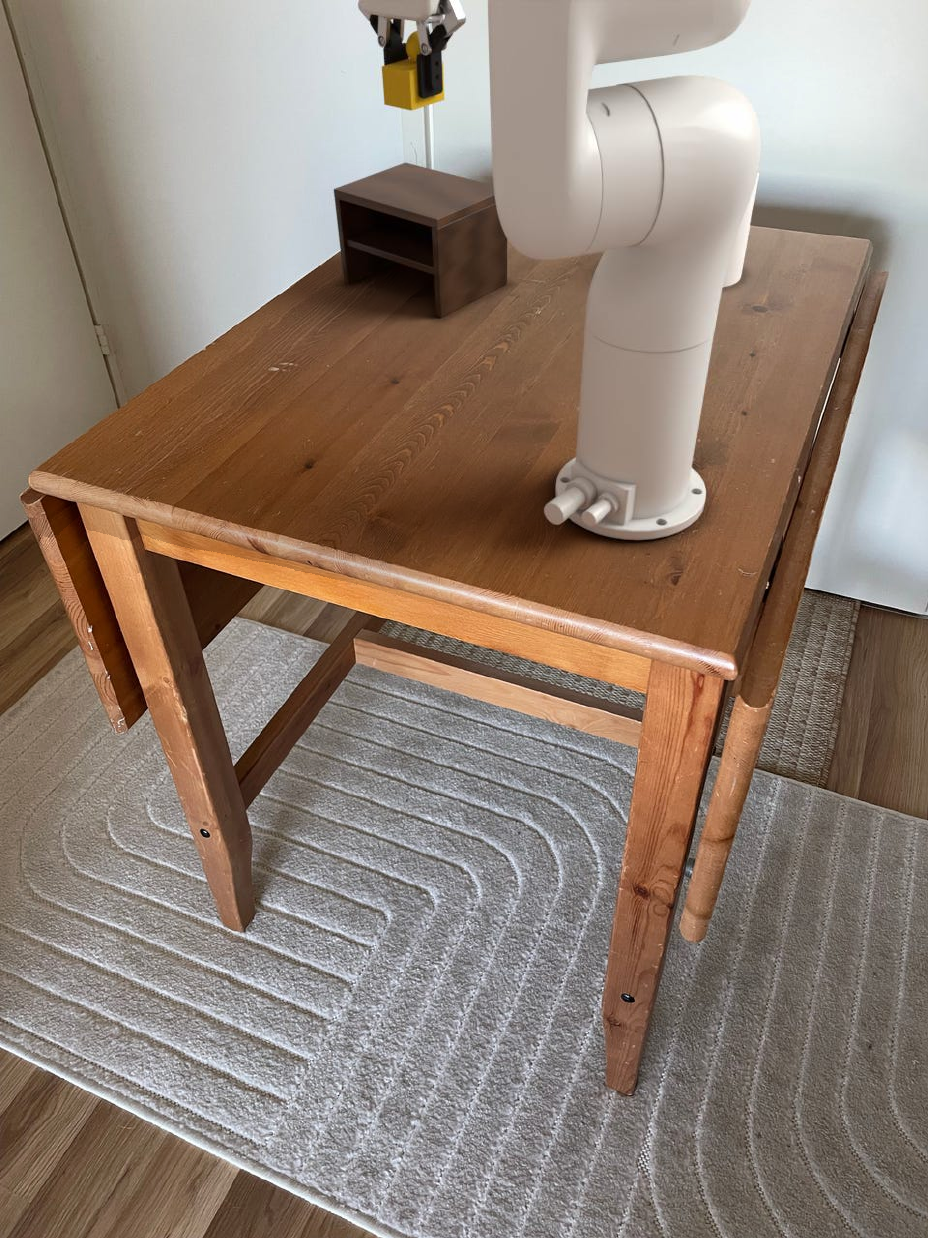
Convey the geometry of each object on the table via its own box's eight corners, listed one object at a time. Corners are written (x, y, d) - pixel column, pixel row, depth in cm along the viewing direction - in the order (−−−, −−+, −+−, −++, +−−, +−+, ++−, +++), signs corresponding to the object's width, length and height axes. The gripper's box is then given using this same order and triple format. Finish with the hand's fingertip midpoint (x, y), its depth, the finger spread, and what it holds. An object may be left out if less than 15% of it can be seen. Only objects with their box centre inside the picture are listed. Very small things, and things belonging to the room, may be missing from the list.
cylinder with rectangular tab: (651, 275, 113) (663, 170, 105) (691, 253, 118) (706, 151, 110) (715, 295, 109) (733, 187, 101) (755, 271, 113) (775, 166, 105)
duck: (411, 110, 97) (407, 39, 93) (384, 104, 99) (379, 34, 95) (453, 96, 101) (451, 28, 96) (425, 91, 103) (422, 23, 98)
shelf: (441, 318, 106) (436, 219, 98) (343, 282, 114) (333, 188, 106) (507, 283, 112) (507, 188, 105) (411, 252, 120) (405, 161, 113)
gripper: (312, -129, 89) (334, 87, 101) (442, -121, 80) (449, 112, 93) (368, -135, 93) (383, 73, 105) (497, -129, 84) (497, 96, 97)
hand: (414, 89), depth 99 cm, fingers closed on duck, 4 cm apart
